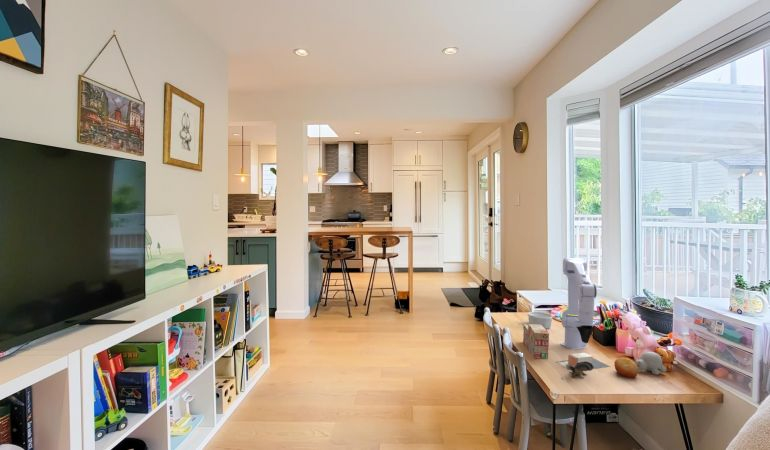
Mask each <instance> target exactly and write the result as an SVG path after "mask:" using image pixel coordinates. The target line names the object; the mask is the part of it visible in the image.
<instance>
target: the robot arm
mask: <svg viewBox="0 0 770 450" xmlns="http://www.w3.org/2000/svg"><path fill="white" fill-rule="evenodd" d="M587 268H588V262H587V260H586V258H576V257H575V258H570V257H564V258H563V260H562V272H563V275H565V276H566V277H567V301H568V302H567V304H568V305H567V306H568V307H567V308H566V309H565V310H563V311H562V312H561V313H562V315H561V325H562V327H563V328H564V342H560V346H561V345H562V346H564V347H566V348H568V349H569V350H581V349H582V350H583V349H588V346H587V344H588V343H589V340H590V338H591V336H592V333H594V331H595V329H596V328H595V326H601V320H598V319H594V316H595V315H594V313H595V311H594V310H595V299H596V297H597V296H598V295H597V293H598V292H597V285H596V284H594V283H592V281H591V279H590V276H589V275H588V274H586V270H587Z"/></svg>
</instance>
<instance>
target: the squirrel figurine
mask: <svg viewBox="0 0 770 450" xmlns="http://www.w3.org/2000/svg"><path fill="white" fill-rule="evenodd" d="M565 368H566V369H567V370H569V372H568V373H569V374H571V379H574V378H575V377H576V375H577V376H579V377H581V378H582V379H584V378H585V376H587V374H586V373H585V372H588V371H589V372H590V371H593V370H594V369H593V368H594V367H593V365H592V364H591V363H589V362H579V363H577V364H576V366H575V367H573V366H572V365H566V367H565Z"/></svg>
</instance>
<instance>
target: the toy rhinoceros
mask: <svg viewBox="0 0 770 450" xmlns="http://www.w3.org/2000/svg"><path fill="white" fill-rule="evenodd" d="M633 361H634V362H635V363H636V364H637V366H638V373H639V374H640V373H642V371H644V370H646V371H648V372H651V374H652V375H656V376H658V375H660V373H666V372H667V368H666V366H665V365H664V364H663V359H662V358H661V356H660V355H659V354H658V353H656V352H654V351H644V352H643V353H642V354H641V355H640V359H638V358H637V359H636V358H635V357H633ZM638 373H637V374H638Z"/></svg>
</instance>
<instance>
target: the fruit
mask: <svg viewBox="0 0 770 450" xmlns="http://www.w3.org/2000/svg"><path fill="white" fill-rule="evenodd" d="M614 369H615V371H616V373H618V375H619V376H621V377H624V378H636V377H637V376H638V366H637V364H636V363H635V360H633V359H631V358H629V357H619V358H617V359H616V360H615V361H614Z"/></svg>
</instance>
